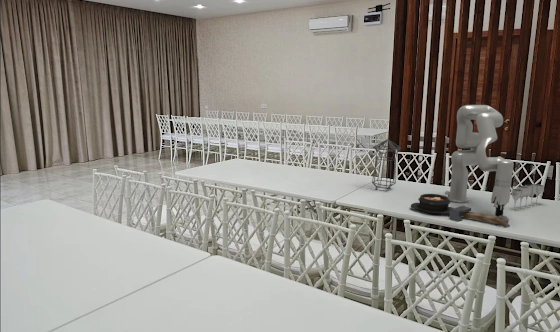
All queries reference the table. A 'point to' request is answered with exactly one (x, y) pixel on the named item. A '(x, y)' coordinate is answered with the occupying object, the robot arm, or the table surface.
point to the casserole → (433, 204)
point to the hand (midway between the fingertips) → (498, 216)
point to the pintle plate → (502, 225)
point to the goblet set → (526, 194)
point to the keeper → (458, 212)
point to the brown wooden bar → (486, 218)
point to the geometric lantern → (385, 160)
